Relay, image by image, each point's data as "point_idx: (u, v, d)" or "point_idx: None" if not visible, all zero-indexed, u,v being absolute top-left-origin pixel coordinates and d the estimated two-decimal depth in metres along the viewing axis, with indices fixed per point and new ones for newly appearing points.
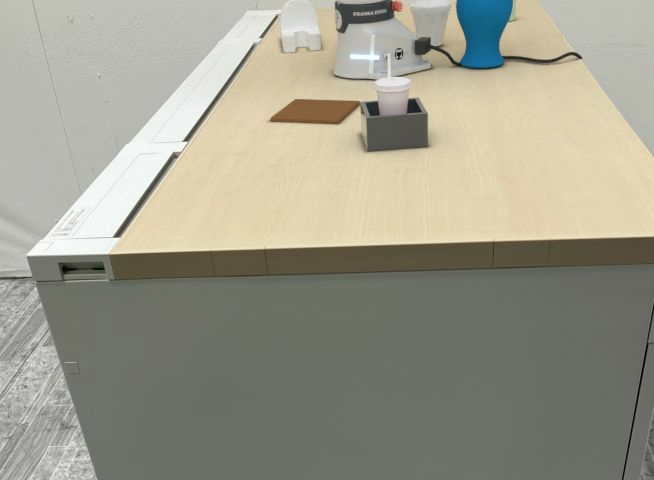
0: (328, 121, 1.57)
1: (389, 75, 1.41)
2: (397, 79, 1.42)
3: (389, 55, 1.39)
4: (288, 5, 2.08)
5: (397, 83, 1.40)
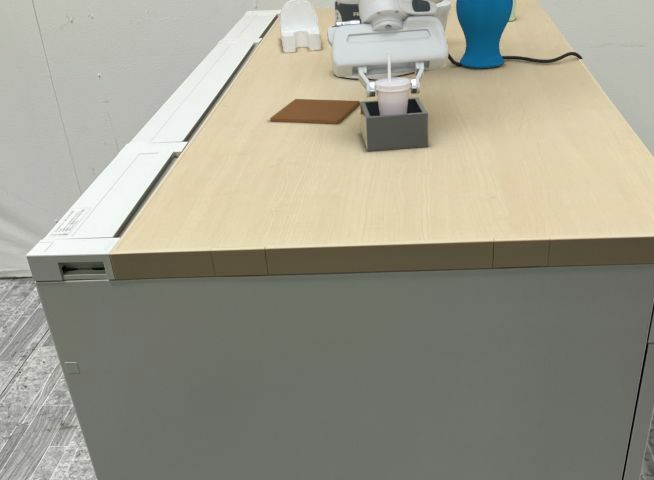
0: (328, 121, 1.57)
1: (389, 75, 1.41)
2: (397, 79, 1.41)
3: (389, 55, 1.39)
4: (288, 5, 2.08)
5: (397, 83, 1.40)
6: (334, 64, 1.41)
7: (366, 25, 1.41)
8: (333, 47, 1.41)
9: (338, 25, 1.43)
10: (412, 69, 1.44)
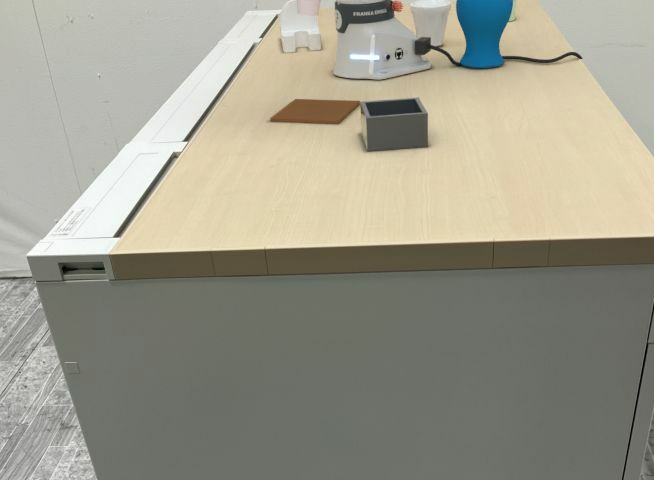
0: (328, 121, 1.57)
1: None
2: None
3: None
4: (288, 5, 2.08)
5: None
6: None
7: None
8: None
9: None
10: None
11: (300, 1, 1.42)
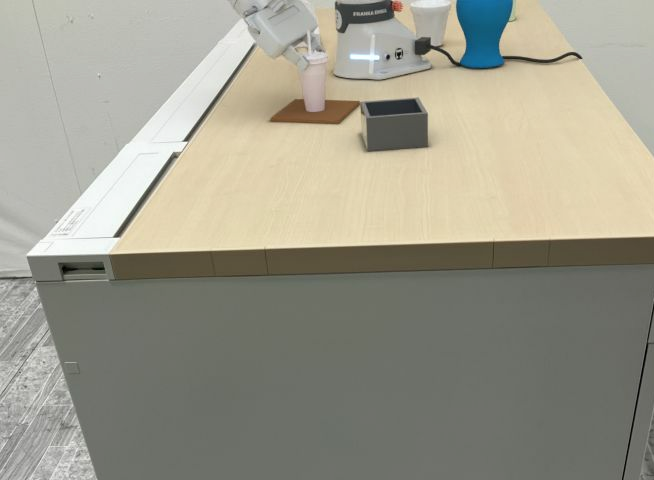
0: (328, 121, 1.57)
1: (310, 50, 1.56)
2: (311, 53, 1.58)
3: (309, 31, 1.54)
4: None
5: (319, 55, 1.57)
6: (280, 46, 1.49)
7: (268, 9, 1.51)
8: (270, 31, 1.48)
9: (249, 14, 1.48)
10: (300, 41, 1.60)
11: (310, 101, 1.61)
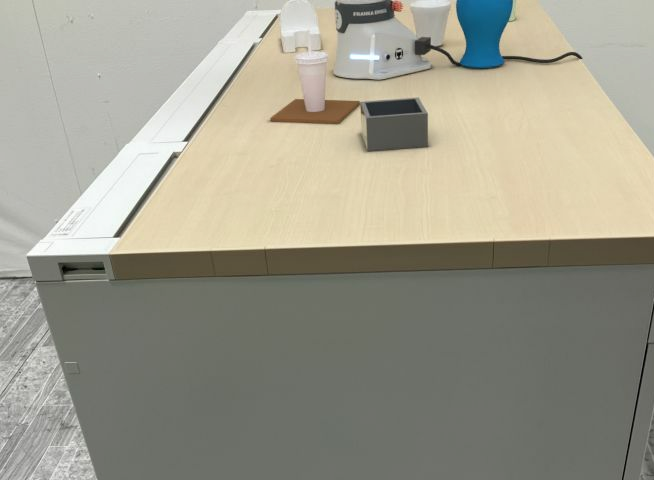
0: (328, 121, 1.57)
1: (310, 50, 1.56)
2: (311, 53, 1.58)
3: (309, 31, 1.54)
4: (288, 5, 2.08)
5: (319, 54, 1.57)
6: None
7: None
8: None
9: None
10: None
11: (310, 101, 1.61)
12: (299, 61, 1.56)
